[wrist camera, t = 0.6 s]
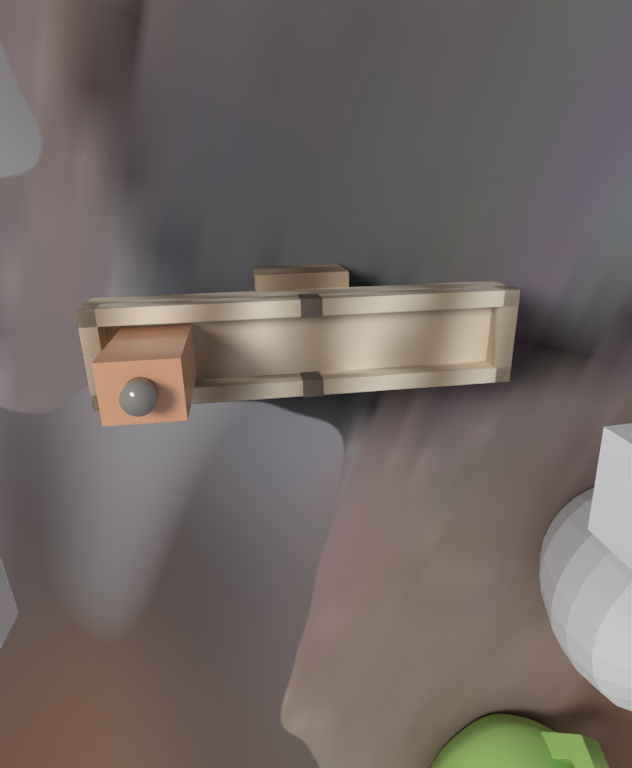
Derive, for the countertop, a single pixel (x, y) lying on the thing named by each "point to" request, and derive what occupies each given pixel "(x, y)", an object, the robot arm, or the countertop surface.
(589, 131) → the countertop surface
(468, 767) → the teapot
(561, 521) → the vase
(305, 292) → the beam
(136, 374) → the block
